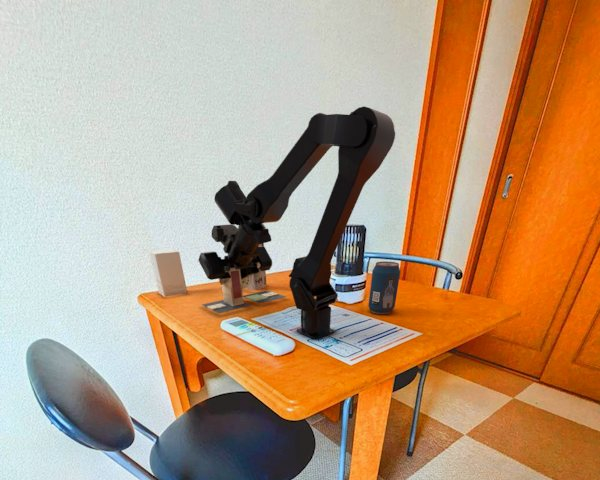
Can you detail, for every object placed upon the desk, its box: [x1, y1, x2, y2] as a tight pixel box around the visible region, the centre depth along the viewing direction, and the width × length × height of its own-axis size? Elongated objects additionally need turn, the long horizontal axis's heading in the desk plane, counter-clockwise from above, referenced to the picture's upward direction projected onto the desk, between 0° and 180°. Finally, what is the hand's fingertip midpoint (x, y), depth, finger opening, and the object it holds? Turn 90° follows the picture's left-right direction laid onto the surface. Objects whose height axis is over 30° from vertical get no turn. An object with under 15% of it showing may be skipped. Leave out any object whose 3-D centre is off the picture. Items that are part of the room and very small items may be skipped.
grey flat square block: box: [243, 290, 287, 304], centre depth 94 cm, size 10×10×1 cm
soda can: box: [367, 261, 401, 315], centre depth 81 cm, size 7×7×12 cm
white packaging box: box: [148, 248, 188, 298], centre depth 97 cm, size 7×7×13 cm
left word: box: [201, 299, 252, 314], centre depth 87 cm, size 10×10×1 cm
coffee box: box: [241, 243, 267, 291], centre depth 100 cm, size 9×6×16 cm
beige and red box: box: [221, 268, 245, 306], centre depth 85 cm, size 5×4×11 cm
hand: (228, 281), depth 86 cm, fingers open, 5 cm apart
